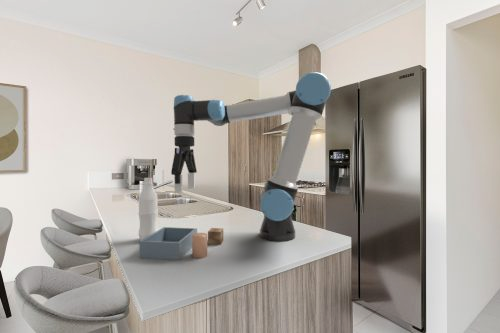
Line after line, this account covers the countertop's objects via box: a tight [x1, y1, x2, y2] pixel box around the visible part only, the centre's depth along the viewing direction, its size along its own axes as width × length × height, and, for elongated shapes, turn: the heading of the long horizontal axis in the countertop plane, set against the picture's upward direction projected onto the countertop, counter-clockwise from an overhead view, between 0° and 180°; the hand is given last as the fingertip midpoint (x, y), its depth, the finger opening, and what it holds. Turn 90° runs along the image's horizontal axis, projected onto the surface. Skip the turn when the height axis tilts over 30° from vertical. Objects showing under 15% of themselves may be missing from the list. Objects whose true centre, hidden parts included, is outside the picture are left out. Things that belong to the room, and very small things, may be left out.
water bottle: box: [138, 177, 159, 241], centre depth 100 cm, size 7×7×25 cm
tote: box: [138, 226, 198, 261], centre depth 90 cm, size 14×18×6 cm
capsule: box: [191, 232, 208, 259], centre depth 85 cm, size 5×5×7 cm
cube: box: [207, 227, 224, 246], centre depth 99 cm, size 5×5×5 cm
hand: (185, 190), depth 99 cm, fingers open, 13 cm apart
